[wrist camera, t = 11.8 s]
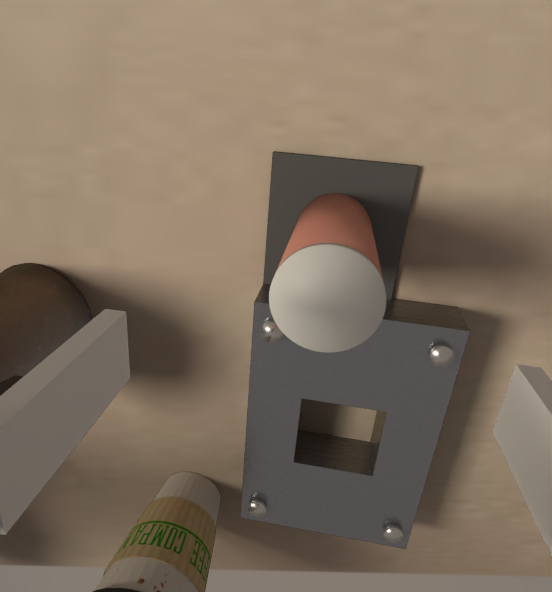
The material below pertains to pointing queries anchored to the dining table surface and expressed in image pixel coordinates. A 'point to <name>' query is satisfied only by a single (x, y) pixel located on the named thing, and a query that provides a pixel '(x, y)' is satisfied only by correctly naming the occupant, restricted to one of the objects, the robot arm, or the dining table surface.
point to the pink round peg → (329, 277)
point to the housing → (341, 451)
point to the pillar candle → (36, 316)
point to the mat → (346, 180)
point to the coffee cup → (169, 541)
